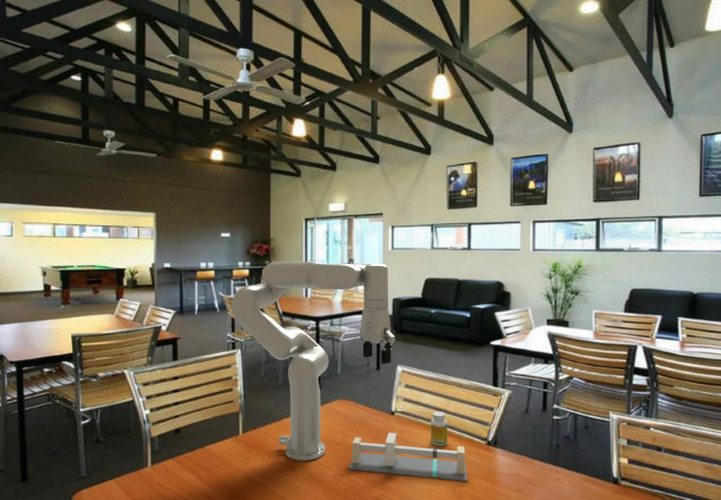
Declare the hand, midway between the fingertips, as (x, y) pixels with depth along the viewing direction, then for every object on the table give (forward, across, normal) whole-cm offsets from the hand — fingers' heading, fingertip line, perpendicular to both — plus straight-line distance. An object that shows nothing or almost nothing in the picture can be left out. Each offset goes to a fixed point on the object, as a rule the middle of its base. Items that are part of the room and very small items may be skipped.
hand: (376, 359), depth 129 cm
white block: (+30, +4, +2) cm, 30 cm away
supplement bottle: (+31, +1, +24) cm, 40 cm away
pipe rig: (+31, +8, +5) cm, 32 cm away
